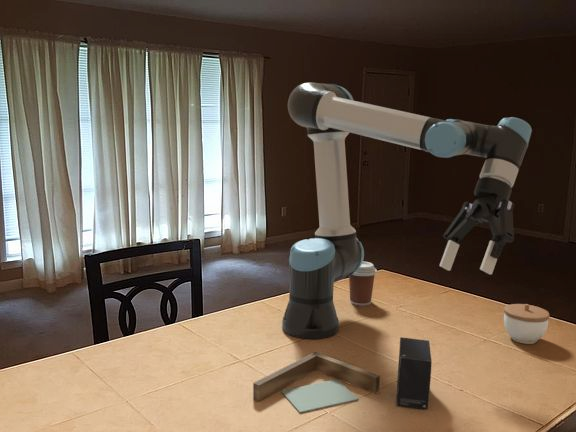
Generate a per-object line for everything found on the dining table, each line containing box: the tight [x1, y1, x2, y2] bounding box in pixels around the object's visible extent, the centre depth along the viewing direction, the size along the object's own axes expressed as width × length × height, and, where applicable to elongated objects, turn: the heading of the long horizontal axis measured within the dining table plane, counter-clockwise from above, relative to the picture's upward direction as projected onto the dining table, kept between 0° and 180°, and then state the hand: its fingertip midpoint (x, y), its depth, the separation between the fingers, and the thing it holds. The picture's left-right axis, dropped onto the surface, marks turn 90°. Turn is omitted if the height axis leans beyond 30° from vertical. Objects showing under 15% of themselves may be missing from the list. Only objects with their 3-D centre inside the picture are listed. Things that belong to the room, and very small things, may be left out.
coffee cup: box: [348, 260, 378, 307], centre depth 168 cm, size 9×9×12 cm
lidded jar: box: [503, 303, 550, 345], centre depth 142 cm, size 11×11×9 cm
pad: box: [280, 378, 359, 414], centre depth 113 cm, size 9×13×1 cm
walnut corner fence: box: [252, 351, 381, 402], centre depth 113 cm, size 17×20×4 cm
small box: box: [395, 336, 432, 410], centre depth 112 cm, size 11×6×10 cm, turn 168°
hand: (464, 270), depth 121 cm, fingers open, 13 cm apart
